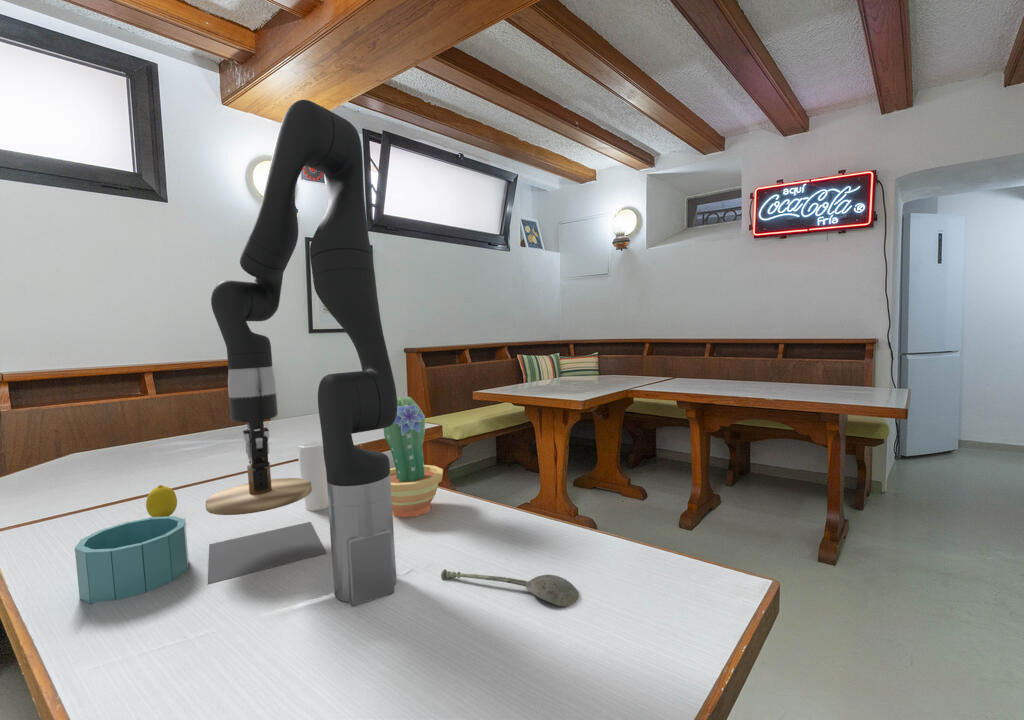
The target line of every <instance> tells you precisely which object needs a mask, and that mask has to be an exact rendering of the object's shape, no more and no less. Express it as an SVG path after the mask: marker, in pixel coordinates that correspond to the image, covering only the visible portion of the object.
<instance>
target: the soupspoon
mask: <svg viewBox="0 0 1024 720" xmlns="http://www.w3.org/2000/svg"><path fill="white" fill-rule="evenodd" d="M440 573H441V574H440V577H441V578H440V579H441V580H442V581H443V580H445V579H447V580H449V579H455V578H458V579H460V578H466V579H467V578H468V579H475V580H476V579H478V580H483V581H484V580H485V581H491V582H492V581H493V582H499V583H501V582H502V583H508V584H512V585H517V586H521V587H525V589H526V590H527V591H528V592H529V593H530V594H533V595H534V596H535V597H536V598H539V599H541V600H542V601H545V602H548V603H551V604H553V605H556V606H558V607H564V608H565V607H566V608H568V607H572V606H573V605H574V604H575V603H577V601H578V599H579V596H580V595H579V591H578V590H577V588H576V587H575V585H573V584H572V583H571V582H570V581H568V580H567V579H566V578H564V577H561V576H559V575H555V574H542V575H539V576H535V577H533V578H532V579H530V580H529V581H527V580H525V579H523V580H522V579H517V578H511V577H505V576H495V575H484V574H477V573H476V574H474V573H464V572H463V573H461V572H460V571H457V572H455V571H450V570H447V569H443V570H442V571H441V572H440Z"/></svg>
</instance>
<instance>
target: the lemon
mask: <svg viewBox="0 0 1024 720" xmlns="http://www.w3.org/2000/svg"><path fill="white" fill-rule="evenodd" d="M145 506H146V507H145V508H146V511H147V513H148V515H149V517H150V518H151V517H166V516H172V515H173V514H174V512H175V511H176V509H177V507H178V498H177V495H176V492H175V491H174V489H172V488H171V487H170V486H167V485H166V486H165V485H162V484H159V485H158V486H157V487H155V488H153V489H152V490H151V491H150V492H149V493H148V495H147V498H146V503H145Z"/></svg>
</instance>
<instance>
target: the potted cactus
mask: <svg viewBox="0 0 1024 720" xmlns="http://www.w3.org/2000/svg"><path fill="white" fill-rule="evenodd" d="M425 416H426V415H425V414H424V412H423V411H422V409H421V407H419V405H418V403H417V402H415V400H414V399H413V398H412V397H411V396H407V397H405V398H404V397H402V396H399V397H397V415H396V419H395V421H394V423H393V424H392V425H391V426H389V427H386V428H382V429H383V437H384V438H385V441H386V443H387V445H388V447H389V448H390V452H391V456H392V459H393V463H394V467H393V468H391V467H390V479H391V498H392V514H393V517H396V518H397V517H399V518H411V517H417V516H420V515H424V514H426V513H427V512H429V511H430V510H431V507H432V505H431V503H432V500H433V499H434V497H435V496H436V494H437V490H438V486H439V483H441V482H442V480H443V475H444V468H441V467H439V466H436V465H431V464H430V465H429V464H425V461H424V453H423V452H424V450H423V449H424V448H423V444H424V439H425V435H426V426H425V425H426V422H425V421H426V417H425Z"/></svg>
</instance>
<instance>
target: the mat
mask: <svg viewBox="0 0 1024 720" xmlns="http://www.w3.org/2000/svg"><path fill="white" fill-rule="evenodd" d="M327 554H328V552H327V551H326V549H325V547H324V545H323V543H322V542H321V539H320V537H319V535H318V533H317V532H316V529H315V527H314V526H313V524H312V522H311V521H308V522H303V523H299V524H294V525H290V526H289V525H288V526H285V527H281V528H276V529H272V530H268V531H267V530H266V531H263V532H258V533H254V534H249V535H245V536H240V537H236V538H232V539H227V540H222V541H217V542H214V543H209V546H208V561H207V562H208V565H207V582H206V583H207V585H210V584H211V585H212V584H214V583H219V582H223V581H226V580H227V581H228V580H231V579H234V578H239V577H242V576H246V575H250V574H254V573H257V572H261V571H264V570H269V569H274V568H276V567H277V568H278V567H280V566H284V565H289V564H293V563H297V562H301V561H304V560H307V559H312V558H315V557H320V556H323V555H327Z"/></svg>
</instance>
